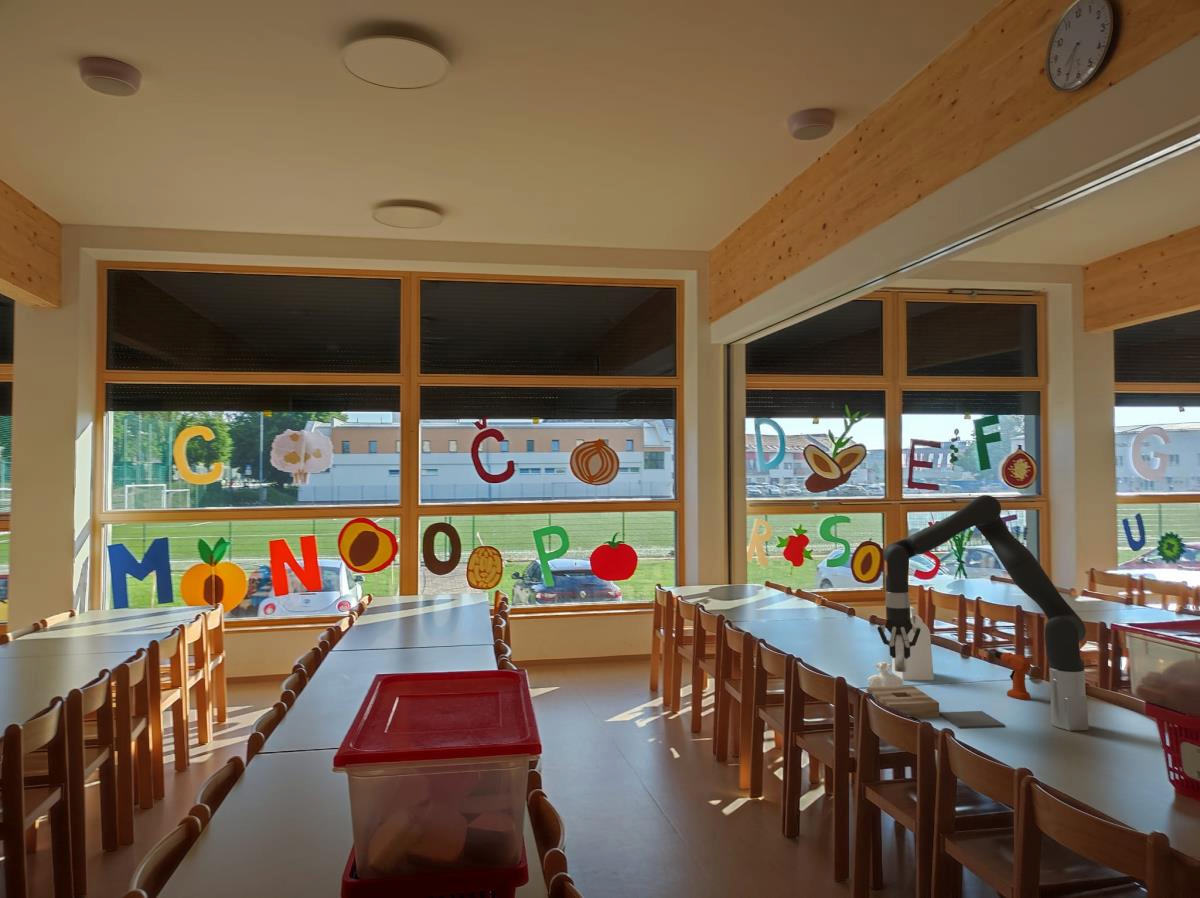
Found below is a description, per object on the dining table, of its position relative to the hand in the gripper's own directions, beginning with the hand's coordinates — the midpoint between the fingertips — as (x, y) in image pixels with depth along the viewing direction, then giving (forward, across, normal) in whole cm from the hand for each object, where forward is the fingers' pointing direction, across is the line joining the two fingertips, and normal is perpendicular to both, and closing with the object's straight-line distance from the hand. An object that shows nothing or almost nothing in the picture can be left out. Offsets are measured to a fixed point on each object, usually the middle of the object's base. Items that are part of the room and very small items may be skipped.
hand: (900, 657), depth 259 cm
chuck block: (+17, 0, 0) cm, 17 cm away
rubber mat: (+17, -20, +6) cm, 27 cm away
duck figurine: (+17, +7, -19) cm, 26 cm away
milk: (+17, -1, -45) cm, 48 cm away
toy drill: (+17, -32, -30) cm, 47 cm away
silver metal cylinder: (+4, 0, 0) cm, 4 cm away
